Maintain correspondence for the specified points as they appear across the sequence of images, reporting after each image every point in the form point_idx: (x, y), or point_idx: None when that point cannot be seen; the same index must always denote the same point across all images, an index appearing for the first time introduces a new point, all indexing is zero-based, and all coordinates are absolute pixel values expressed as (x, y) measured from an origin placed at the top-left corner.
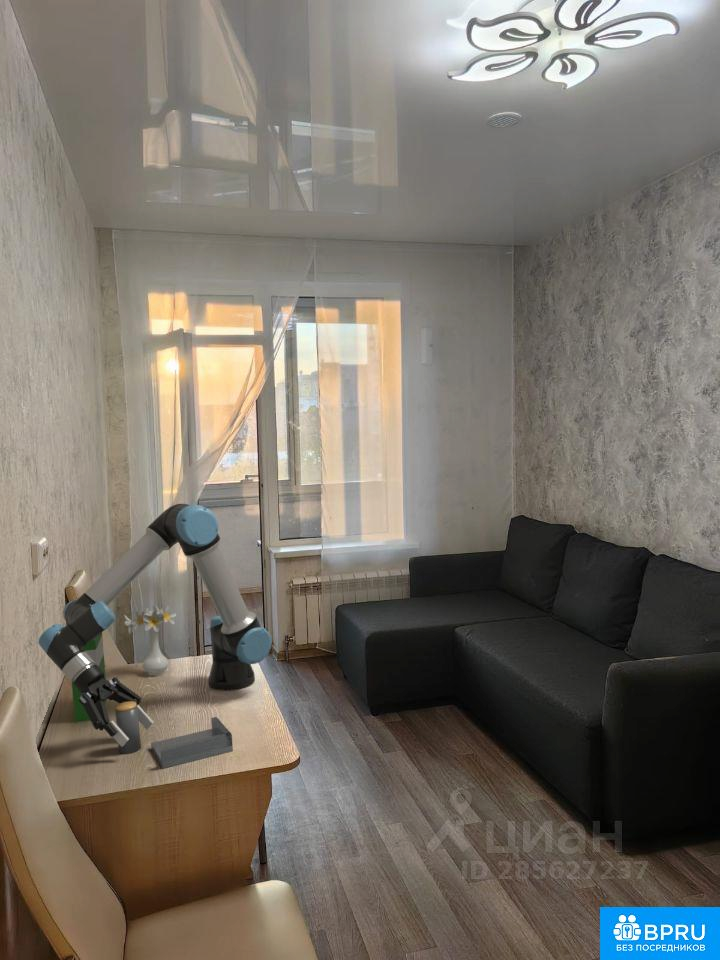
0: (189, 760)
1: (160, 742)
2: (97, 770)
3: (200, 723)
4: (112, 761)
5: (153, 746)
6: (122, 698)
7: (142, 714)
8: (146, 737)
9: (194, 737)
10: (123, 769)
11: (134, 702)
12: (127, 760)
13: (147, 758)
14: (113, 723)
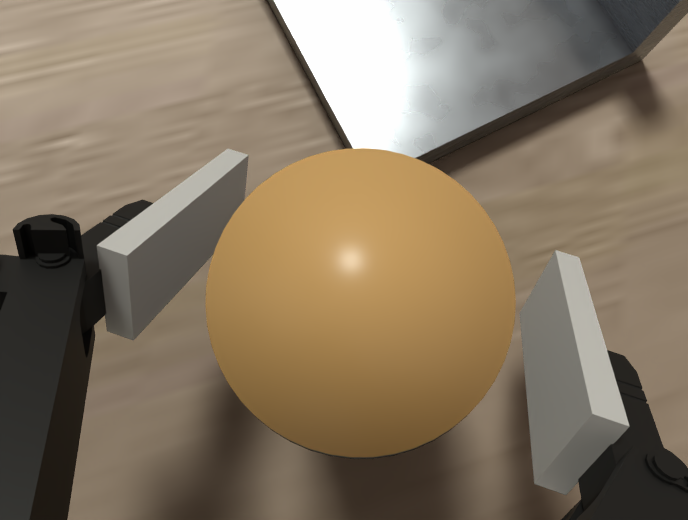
0: None
1: (368, 123)
2: None
3: (51, 4)
4: None
5: (426, 149)
6: (53, 446)
7: (191, 216)
8: None
9: None
10: (647, 277)
11: (272, 193)
12: (524, 290)
13: (504, 178)
14: (608, 393)
